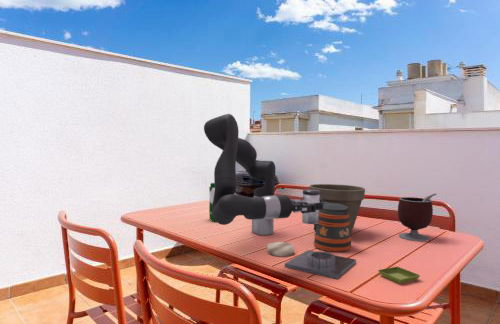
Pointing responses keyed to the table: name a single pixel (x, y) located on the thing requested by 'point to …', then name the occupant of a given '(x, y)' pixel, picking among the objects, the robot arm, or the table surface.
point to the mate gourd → (415, 216)
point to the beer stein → (333, 228)
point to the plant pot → (342, 197)
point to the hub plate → (321, 269)
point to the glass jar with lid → (311, 197)
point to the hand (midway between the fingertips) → (317, 204)
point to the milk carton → (211, 201)
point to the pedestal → (280, 249)
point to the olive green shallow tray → (399, 274)
